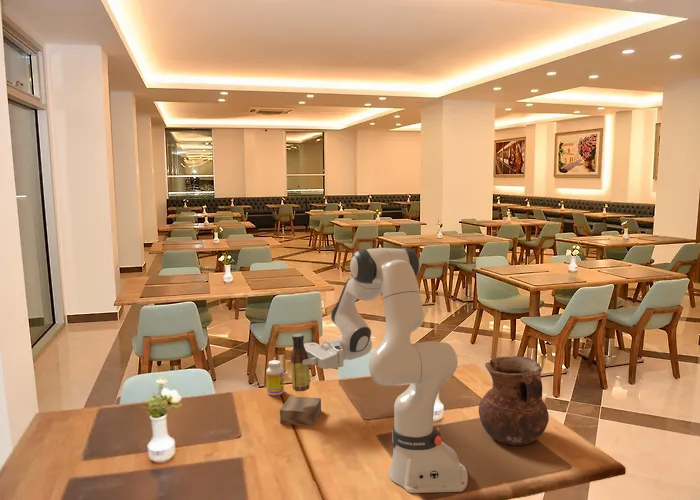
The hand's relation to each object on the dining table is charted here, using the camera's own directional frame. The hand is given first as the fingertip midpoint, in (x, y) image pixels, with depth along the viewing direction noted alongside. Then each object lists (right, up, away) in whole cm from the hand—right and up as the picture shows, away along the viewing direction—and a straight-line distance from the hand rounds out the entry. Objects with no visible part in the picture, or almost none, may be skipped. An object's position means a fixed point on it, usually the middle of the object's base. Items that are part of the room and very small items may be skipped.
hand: (297, 359), depth 191 cm
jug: (+72, -23, -13) cm, 77 cm away
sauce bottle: (+1, -11, +2) cm, 11 cm away
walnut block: (+1, -22, +3) cm, 22 cm away
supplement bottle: (-11, -19, +26) cm, 34 cm away
